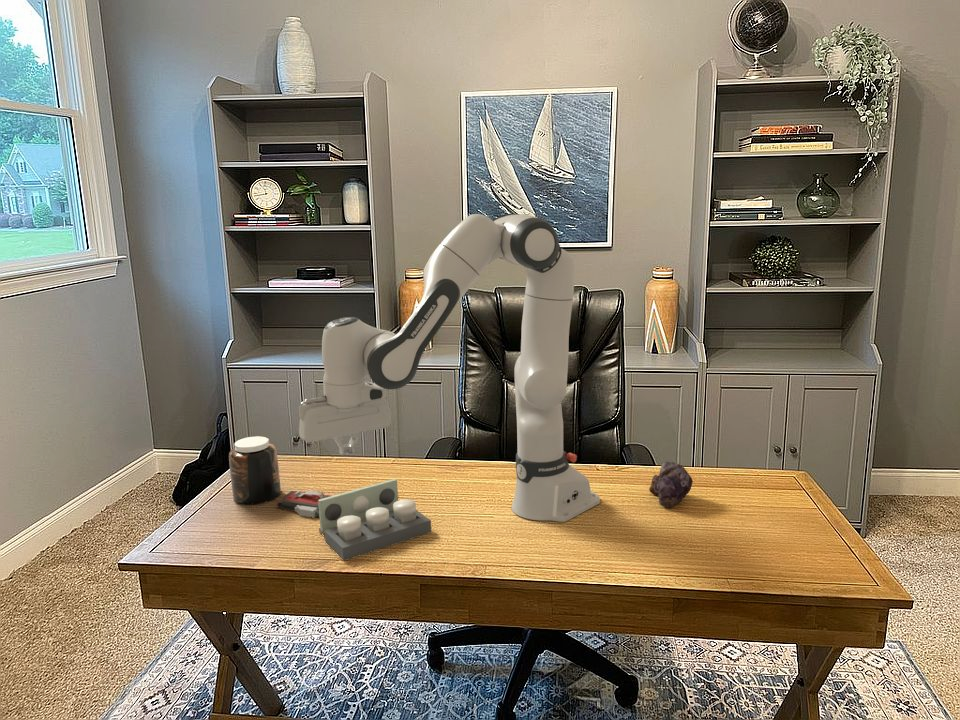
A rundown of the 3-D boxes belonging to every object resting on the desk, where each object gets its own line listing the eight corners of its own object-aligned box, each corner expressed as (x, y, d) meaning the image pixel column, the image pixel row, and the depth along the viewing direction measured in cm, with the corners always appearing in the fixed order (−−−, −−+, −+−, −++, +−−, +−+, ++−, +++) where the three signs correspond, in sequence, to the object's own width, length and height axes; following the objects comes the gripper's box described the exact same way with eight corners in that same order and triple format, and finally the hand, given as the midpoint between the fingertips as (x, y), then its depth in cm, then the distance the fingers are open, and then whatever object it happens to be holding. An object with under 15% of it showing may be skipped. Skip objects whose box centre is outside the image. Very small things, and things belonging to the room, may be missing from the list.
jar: (255, 508, 190) (249, 452, 186) (224, 499, 196) (217, 445, 192) (289, 491, 200) (284, 438, 196) (258, 483, 206) (253, 431, 202)
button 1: (355, 531, 173) (354, 513, 171) (365, 540, 168) (364, 521, 167) (334, 538, 170) (333, 519, 169) (344, 546, 166) (342, 528, 164)
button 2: (409, 514, 180) (408, 497, 179) (420, 522, 176) (419, 505, 175) (390, 520, 177) (389, 503, 176) (400, 529, 173) (399, 511, 172)
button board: (410, 516, 183) (409, 505, 183) (431, 532, 175) (430, 520, 174) (325, 543, 171) (324, 530, 171) (343, 560, 163) (342, 548, 163)
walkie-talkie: (271, 513, 188) (342, 524, 181) (269, 497, 187) (341, 507, 180) (291, 499, 196) (360, 508, 189) (289, 483, 195) (358, 492, 188)
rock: (653, 513, 184) (695, 512, 184) (654, 483, 181) (697, 482, 180) (647, 486, 195) (687, 486, 194) (648, 458, 192) (688, 457, 191)
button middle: (383, 523, 176) (382, 505, 175) (393, 531, 172) (392, 513, 171) (363, 529, 174) (361, 511, 172) (373, 537, 169) (372, 519, 168)
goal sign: (395, 509, 188) (393, 477, 185) (400, 513, 185) (398, 481, 183) (319, 531, 177) (316, 498, 175) (324, 536, 174) (321, 502, 172)
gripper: (303, 404, 155) (306, 467, 158) (393, 389, 165) (394, 448, 169) (292, 396, 160) (296, 458, 163) (380, 382, 171) (381, 440, 174)
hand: (346, 453), depth 166 cm, fingers closed
